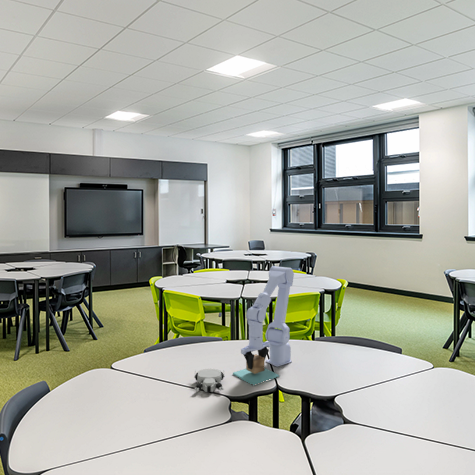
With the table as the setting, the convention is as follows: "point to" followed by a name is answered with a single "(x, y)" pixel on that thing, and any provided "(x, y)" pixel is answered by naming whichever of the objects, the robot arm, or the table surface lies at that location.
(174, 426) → the table surface
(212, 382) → the robot toy
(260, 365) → the walnut cube
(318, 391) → the table surface
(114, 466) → the table surface
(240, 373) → the teal board
